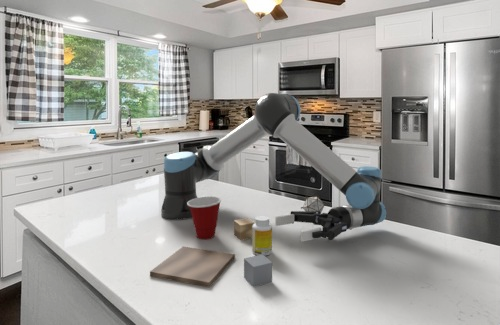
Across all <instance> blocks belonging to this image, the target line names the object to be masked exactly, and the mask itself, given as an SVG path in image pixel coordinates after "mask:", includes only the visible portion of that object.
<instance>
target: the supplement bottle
mask: <svg viewBox="0 0 500 325" xmlns="http://www.w3.org/2000/svg"><path fill="white" fill-rule="evenodd" d="M254 223H255V224H253V226H252V238H251V241H252V243H251V245H252V246H251V247H252V248H251V249H252V250H251V251H252V253H253V255H255V256H257V255H264V256H265V257H267V256H269V255H271V254H272V252H273V250H272V249H273V225H272V224H271V223H270V217H268V216H266V215H259V216H255V218H254Z"/></svg>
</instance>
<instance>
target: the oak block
mask: <svg viewBox="0 0 500 325" xmlns="http://www.w3.org/2000/svg"><path fill="white" fill-rule="evenodd" d="M253 224H255V221H253V220H252V219H250V218H240V219H234V220H233V236H235V238H236V239H238V240H239V241H244V240H249V239H252V226H253Z"/></svg>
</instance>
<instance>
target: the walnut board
mask: <svg viewBox="0 0 500 325" xmlns="http://www.w3.org/2000/svg"><path fill="white" fill-rule="evenodd" d="M235 256H236V254H235V253H229V252H223V251H216V250H209V249H203V248H202V249H201V248H195V247H189V246H182V247H181V248H179V249H178V250H176V251H175V252H174V253H172V254H171V255H170V256H169V257H167V258H166V259H164V260H163V261H162V262H161V263H160V264H158V265H156V266H155V267H154V268H152V269H151V270H150V271H149V277H153V278H159V279H163V280H168V281H169V280H170V281H174V282H180V283H184V284H185V283H186V284H190V285H196V286H202V287H206V288H210V287H211V286H212V285H213V284H214V283H215V281H217V279H218V278H219V277H220V276H221V275H222V274H223V273H224V271H226V269H227V268H228V267H229V265H230V264H231V263H232V262H233V261H234V259H236V257H235Z"/></svg>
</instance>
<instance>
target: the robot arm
mask: <svg viewBox="0 0 500 325" xmlns="http://www.w3.org/2000/svg"><path fill="white" fill-rule="evenodd" d="M301 110H302V109H301V105H300V103H299V101H298V100H297V98H296V97H294V96H293V95H291V94H289V93H277V92H268V93H265V94H263V95H262V96H260V97H259V98H258V100H257V102H256V103H255V106H254V115H252V116H251V117H250V118H248V119H247V120H245V121H244V122H242V123H241V124H240V125H239V126H237V127H236V128H235V129H233V130H232V131H231V132H229V133H227V134H226V135H225V136H223V137H222V138H221V139H219V140H218V141H217V142H215V143H214V144H212V145H208V144H207V145H205V146H203V147H202V148H201V149H199V150H198V151H196V152H195V153H194V152H192V151H179V152H174V153H171V154H168V155H166V156H165V157H164V160H163V173H164V176H163V177H164V192H165V194H164V198H163V201H162V206H161V212H160V213H161V217H163V218H164V217H165V219H168V220H187V219H193V218H192V213H191V210H190V208H189V206H188V205H187V202H188V201H190V200H192V199H195V198H199V197H198V195H197V183H200V182H202V181H206V180H210V179H212V178H214V177H215V176H217V175H218V174H219V172H220V171H222V170H223V169H224V166H225V163H227V162H228V161H229V160H231V159H233V158H234V157H236V156H237V155H239V154H241V153H242V152H243V151H244V150H246V149H248V148H249V147H251V146H253V144H255V143H257V142H258V141H260V140H261V139H262V138H264V137H265V136H267V135H268V136H272V137H273V138H275V139H278V138H279V139H280V140H281V141H282V142H284V143H285V144H286V145H287V147H289V148H290V149H292V150H293V151H294V152H295V153H296V154H297V155H298V156H300V157H301V158H302V159H303V160H304V161H306V163H308V164H309V166H311V167H312V168H314V170H315V171H317V172H318V173H319V175H321V176H322V177H323V178H325V179H326V180H327V181H328V182H330V183H331V184H332V186H334V187H335V188H336V189H337V190H339V192H341V194H343V195H344V197H345V200H346V202H347V203H348V204H347V205H342V206H337V207H335V206H334V207H331V209H329V211H328V212H321V214H320V211H305V210H302V211H300V210H298V211H297V210H296V211H295V210H294V211H293V210H291V211H290V214H286V215H280V216H275V217H274V220H275V223H274V226H276V227H278V226H283V225H290V224H295V223H296V222H297V223H307V224H309V223H310V224H312V225H314V226H321V227H322V228H321V227H316V228H310V229H304V230H300V240H299V241H301V242H306V241H307V242H308V241H311V240H315V239H321V238H323V239H326V238H327V239H328V241H333V240H334V239H335V238H337V237H338V236H339V235H341V234H342V233H344V232H347V230H353V229H357V228H361V227H367V226H374V225H377V224H379V223H382V222H384V220H385V219H386V217H387V210H386V206H385V205H384V203H382V202H381V200H380V198H381V197H380V196H381V185H382V170H381V169H380V168H379V167H376V166H359V167H358V168H357V170H356V169H355V168H353V167H352V166H350V164H348V162H346V161H345V160H344V159H342V158H341V157H340V156H338V155H337V154H336V152H334V151H333V150H332V149H330V148H329V147H328V146H327V145H326V144H324V143H323V142H322V141H321V140H320V139H319V138H317V137H316V136H315V135H314V134H313V133H311V132H310V131H309V130H308V129H307V128H306V127H304V125H302V124H301V123H300V122H299V121H298V120H299V118H300V117H301V112H302V111H301Z"/></svg>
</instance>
